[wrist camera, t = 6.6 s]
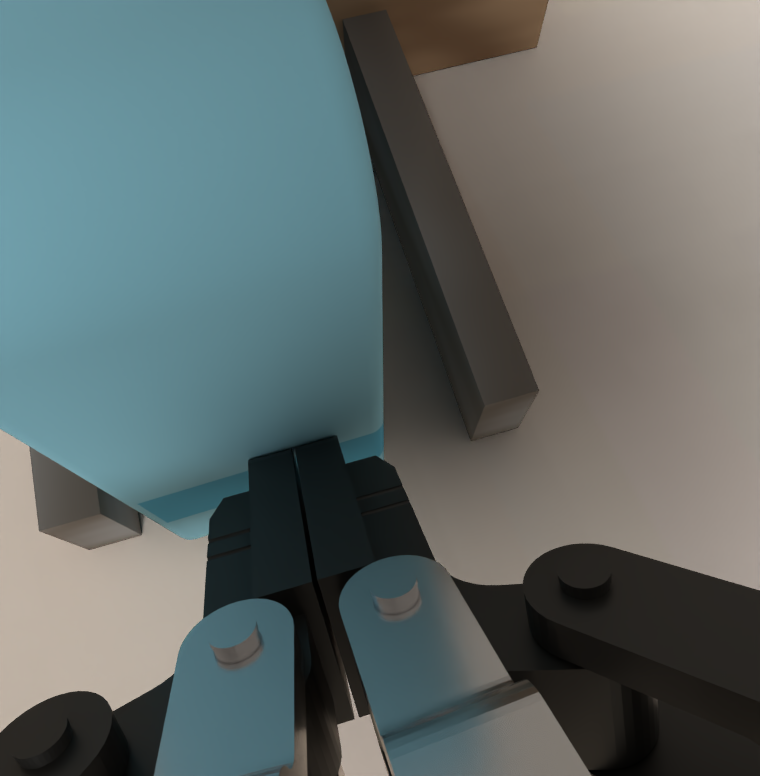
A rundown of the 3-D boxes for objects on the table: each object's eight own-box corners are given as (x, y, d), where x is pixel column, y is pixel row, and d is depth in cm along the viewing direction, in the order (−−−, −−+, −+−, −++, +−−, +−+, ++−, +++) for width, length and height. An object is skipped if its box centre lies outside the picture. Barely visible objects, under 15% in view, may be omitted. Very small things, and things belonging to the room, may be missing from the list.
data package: (387, 495, 16) (390, 143, 5) (198, 554, 16) (-241, 305, 5) (263, 110, 21) (118, -545, 9) (111, 148, 20) (-234, -493, 9)
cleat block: (-127, 611, 16) (-576, 569, 8) (-140, 134, 20) (-431, -158, 13) (699, 375, 17) (923, 172, 10) (508, -10, 22) (568, -335, 15)
